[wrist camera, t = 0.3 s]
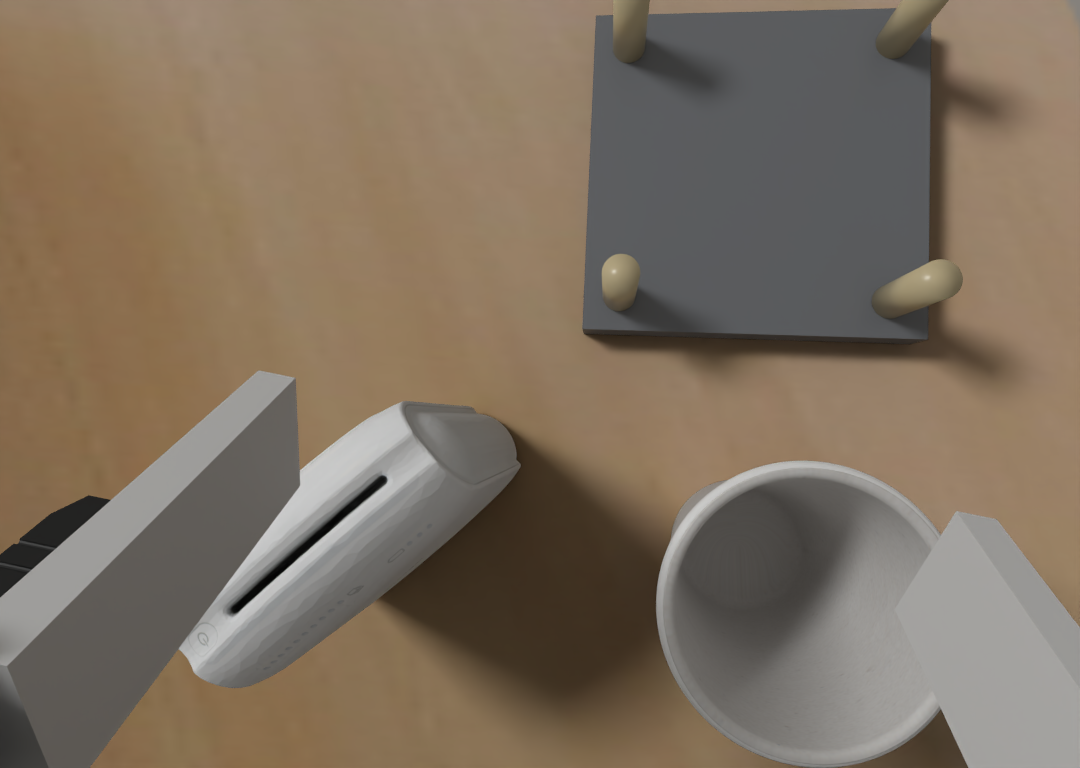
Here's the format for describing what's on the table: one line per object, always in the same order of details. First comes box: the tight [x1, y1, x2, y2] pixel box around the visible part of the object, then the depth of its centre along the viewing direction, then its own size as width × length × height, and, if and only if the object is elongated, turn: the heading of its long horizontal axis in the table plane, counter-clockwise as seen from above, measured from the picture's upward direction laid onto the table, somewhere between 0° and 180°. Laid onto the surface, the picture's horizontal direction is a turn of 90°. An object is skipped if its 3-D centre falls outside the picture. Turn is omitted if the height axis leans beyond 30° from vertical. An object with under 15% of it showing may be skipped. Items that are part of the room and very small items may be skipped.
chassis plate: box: [583, 0, 963, 344], centre depth 25 cm, size 14×14×6 cm
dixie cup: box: [656, 461, 941, 768], centre depth 22 cm, size 8×8×10 cm
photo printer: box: [179, 401, 521, 688], centre depth 23 cm, size 10×4×12 cm, turn 131°
